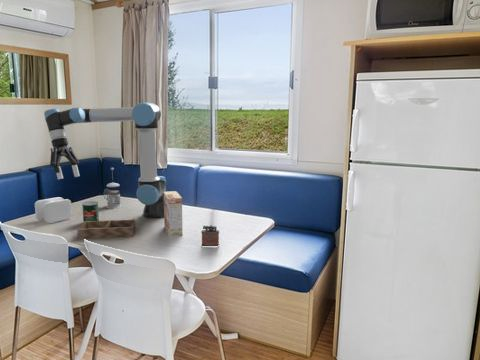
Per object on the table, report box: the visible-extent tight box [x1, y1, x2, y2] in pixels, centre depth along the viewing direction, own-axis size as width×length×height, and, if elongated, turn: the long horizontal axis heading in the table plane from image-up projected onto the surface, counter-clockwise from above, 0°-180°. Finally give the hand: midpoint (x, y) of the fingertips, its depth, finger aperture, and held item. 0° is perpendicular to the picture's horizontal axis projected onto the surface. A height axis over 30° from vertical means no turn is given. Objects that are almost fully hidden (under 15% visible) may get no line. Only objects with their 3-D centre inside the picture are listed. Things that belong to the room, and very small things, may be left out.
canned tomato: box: [81, 200, 100, 223], centre depth 194 cm, size 8×8×11 cm
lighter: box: [201, 224, 220, 247], centre depth 164 cm, size 8×3×10 cm, turn 92°
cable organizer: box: [34, 196, 73, 224], centre depth 197 cm, size 15×11×12 cm
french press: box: [103, 167, 123, 209], centre depth 224 cm, size 10×12×25 cm
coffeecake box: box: [163, 190, 183, 237], centre depth 182 cm, size 15×7×20 cm, turn 21°
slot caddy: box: [77, 219, 137, 239], centre depth 179 cm, size 25×13×4 cm, turn 100°
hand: (69, 177), depth 190 cm, fingers open, 13 cm apart
